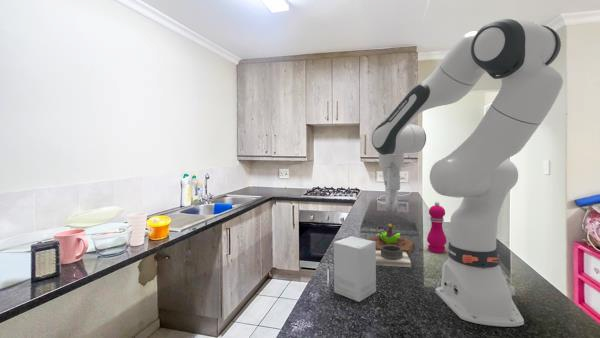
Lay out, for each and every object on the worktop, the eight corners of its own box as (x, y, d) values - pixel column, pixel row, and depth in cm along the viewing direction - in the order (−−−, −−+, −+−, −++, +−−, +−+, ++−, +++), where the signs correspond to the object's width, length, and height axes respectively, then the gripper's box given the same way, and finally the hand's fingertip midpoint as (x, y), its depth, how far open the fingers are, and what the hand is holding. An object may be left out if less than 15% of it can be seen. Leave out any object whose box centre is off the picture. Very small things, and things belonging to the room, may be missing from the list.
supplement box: (377, 292, 88) (377, 241, 87) (359, 303, 82) (359, 248, 81) (351, 282, 94) (351, 235, 94) (333, 292, 88) (332, 241, 87)
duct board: (411, 267, 106) (411, 254, 106) (375, 265, 108) (375, 252, 108) (405, 255, 118) (406, 244, 117) (374, 254, 120) (374, 242, 120)
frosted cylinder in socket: (399, 213, 109) (398, 180, 109) (385, 213, 110) (385, 180, 109) (397, 211, 114) (397, 179, 113) (384, 211, 114) (384, 179, 114)
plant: (363, 253, 122) (362, 225, 122) (367, 239, 141) (367, 215, 140) (416, 258, 116) (416, 229, 115) (413, 243, 135) (413, 218, 134)
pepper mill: (448, 254, 119) (449, 203, 118) (429, 253, 120) (429, 203, 119) (443, 248, 126) (444, 200, 125) (425, 247, 127) (425, 200, 126)
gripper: (404, 163, 100) (404, 204, 101) (396, 161, 120) (397, 196, 121) (384, 163, 101) (385, 204, 102) (380, 162, 121) (380, 196, 122)
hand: (391, 200), depth 112 cm, fingers closed on frosted cylinder in socket, 4 cm apart
